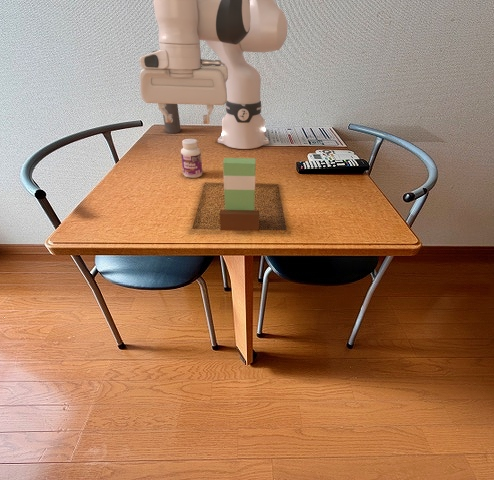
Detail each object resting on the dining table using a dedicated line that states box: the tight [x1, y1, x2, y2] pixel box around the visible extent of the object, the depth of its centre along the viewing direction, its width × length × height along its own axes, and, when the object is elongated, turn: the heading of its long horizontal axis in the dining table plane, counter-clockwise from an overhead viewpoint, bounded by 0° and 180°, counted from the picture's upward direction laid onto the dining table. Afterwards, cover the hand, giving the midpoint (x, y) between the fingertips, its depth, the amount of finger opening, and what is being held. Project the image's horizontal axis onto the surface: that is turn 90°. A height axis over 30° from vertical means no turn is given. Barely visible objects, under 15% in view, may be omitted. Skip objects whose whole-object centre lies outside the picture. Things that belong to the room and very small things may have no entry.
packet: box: [222, 157, 257, 210], centre depth 58 cm, size 2×6×14 cm, turn 91°
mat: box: [191, 182, 287, 232], centre depth 68 cm, size 22×20×5 cm
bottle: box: [162, 104, 182, 134], centre depth 109 cm, size 6×6×15 cm
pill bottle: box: [180, 138, 203, 179], centre depth 79 cm, size 5×5×10 cm
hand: (188, 122), depth 73 cm, fingers open, 8 cm apart
